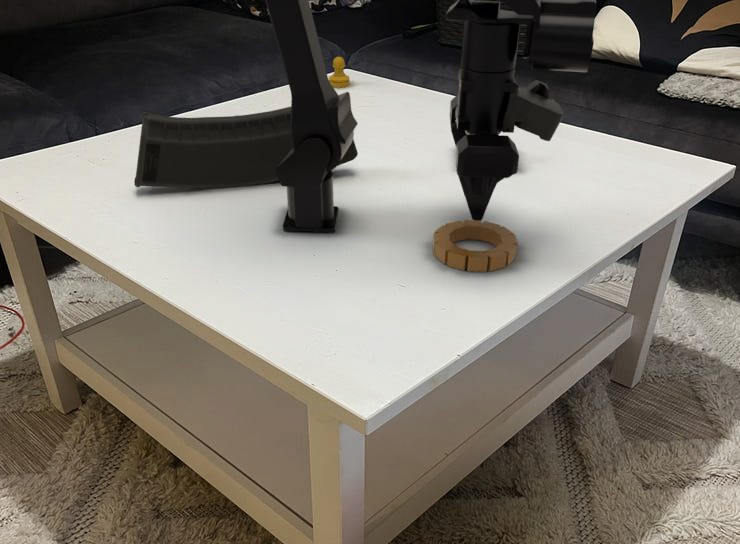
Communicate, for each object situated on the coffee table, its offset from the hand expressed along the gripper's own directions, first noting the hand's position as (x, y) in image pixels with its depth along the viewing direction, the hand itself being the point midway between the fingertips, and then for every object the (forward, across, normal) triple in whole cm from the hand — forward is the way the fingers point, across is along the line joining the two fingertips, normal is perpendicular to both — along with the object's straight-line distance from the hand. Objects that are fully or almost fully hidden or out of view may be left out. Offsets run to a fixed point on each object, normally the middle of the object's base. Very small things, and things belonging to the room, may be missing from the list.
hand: (474, 202), depth 87 cm
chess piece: (+5, +62, +21) cm, 66 cm away
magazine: (+5, +15, +30) cm, 34 cm away
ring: (+4, -4, 0) cm, 6 cm away
